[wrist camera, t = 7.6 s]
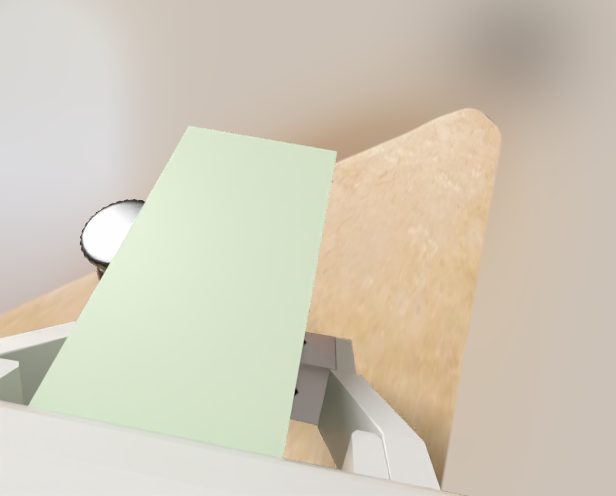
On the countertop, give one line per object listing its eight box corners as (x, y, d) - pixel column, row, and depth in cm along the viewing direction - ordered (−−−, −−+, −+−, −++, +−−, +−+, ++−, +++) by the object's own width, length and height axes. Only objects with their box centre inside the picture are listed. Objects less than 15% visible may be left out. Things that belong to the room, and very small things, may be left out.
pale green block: (283, 432, 13) (277, 489, 4) (197, 415, 13) (12, 432, 4) (310, 288, 16) (336, 151, 8) (241, 275, 16) (189, 125, 8)
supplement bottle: (133, 314, 26) (28, 251, 16) (179, 255, 30) (117, 171, 19) (196, 347, 25) (128, 303, 15) (237, 281, 28) (204, 207, 18)
